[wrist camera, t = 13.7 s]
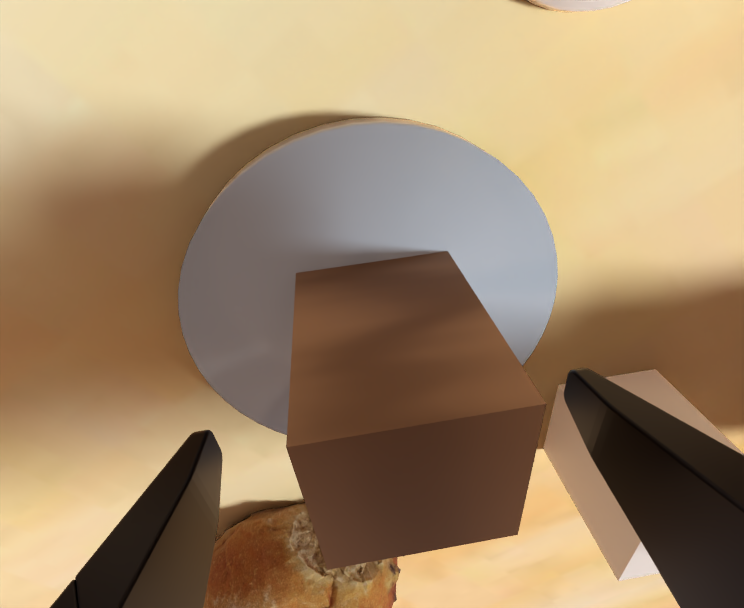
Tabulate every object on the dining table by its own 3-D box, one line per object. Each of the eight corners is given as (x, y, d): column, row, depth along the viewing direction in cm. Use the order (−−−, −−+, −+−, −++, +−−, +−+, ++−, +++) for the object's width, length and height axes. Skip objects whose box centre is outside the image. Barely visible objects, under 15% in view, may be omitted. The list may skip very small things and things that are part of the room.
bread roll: (210, 465, 23) (112, 637, 18) (359, 474, 18) (287, 718, 13) (301, 535, 29) (248, 684, 23) (436, 557, 24) (409, 753, 18)
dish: (568, 91, 11) (594, 97, 10) (519, 396, 18) (532, 417, 17) (120, 147, 10) (100, 159, 9) (245, 442, 17) (241, 467, 16)
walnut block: (447, 251, 12) (545, 403, 7) (446, 363, 14) (517, 534, 10) (295, 272, 12) (286, 447, 7) (321, 383, 14) (327, 569, 9)
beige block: (655, 368, 18) (785, 494, 13) (628, 433, 21) (729, 560, 16) (558, 384, 18) (653, 518, 13) (543, 448, 20) (617, 581, 15)
